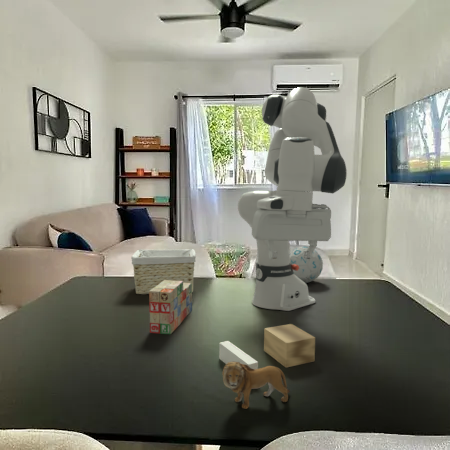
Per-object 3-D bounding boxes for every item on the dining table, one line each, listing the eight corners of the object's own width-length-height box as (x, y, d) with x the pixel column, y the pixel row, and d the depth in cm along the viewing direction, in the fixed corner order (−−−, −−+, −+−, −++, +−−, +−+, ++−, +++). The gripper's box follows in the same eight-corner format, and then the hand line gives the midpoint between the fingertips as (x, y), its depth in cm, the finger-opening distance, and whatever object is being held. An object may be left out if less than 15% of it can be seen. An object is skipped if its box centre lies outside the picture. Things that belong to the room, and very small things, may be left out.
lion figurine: (228, 418, 72) (229, 370, 71) (217, 403, 77) (217, 358, 76) (297, 400, 78) (298, 356, 77) (282, 387, 83) (283, 345, 82)
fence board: (228, 356, 97) (228, 340, 97) (257, 379, 86) (258, 362, 85) (219, 358, 96) (219, 342, 96) (248, 382, 85) (248, 364, 84)
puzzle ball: (314, 288, 159) (315, 251, 157) (279, 283, 167) (280, 247, 165) (327, 280, 171) (328, 246, 170) (294, 276, 179) (295, 242, 178)
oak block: (290, 346, 104) (291, 323, 104) (314, 361, 95) (315, 337, 94) (264, 351, 101) (264, 328, 100) (285, 368, 92) (286, 343, 91)
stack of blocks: (174, 309, 133) (173, 272, 132) (192, 310, 132) (192, 273, 130) (149, 333, 112) (148, 290, 111) (170, 335, 111) (170, 291, 110)
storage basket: (131, 295, 148) (130, 256, 146) (137, 284, 164) (136, 248, 162) (196, 294, 150) (195, 255, 148) (195, 283, 166) (195, 248, 164)
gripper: (325, 204, 105) (321, 256, 106) (251, 200, 99) (248, 256, 100) (338, 205, 99) (334, 260, 100) (260, 201, 93) (256, 260, 94)
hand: (290, 258), depth 100 cm, fingers open, 8 cm apart
